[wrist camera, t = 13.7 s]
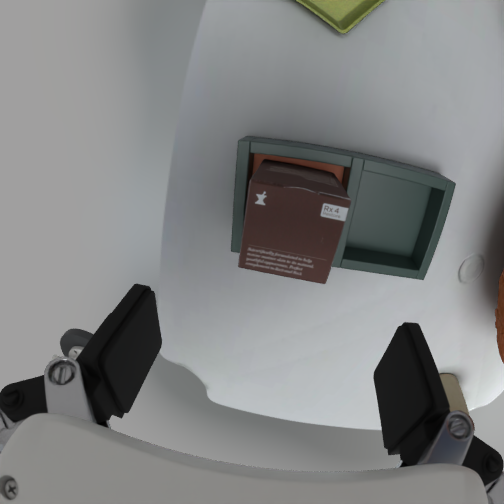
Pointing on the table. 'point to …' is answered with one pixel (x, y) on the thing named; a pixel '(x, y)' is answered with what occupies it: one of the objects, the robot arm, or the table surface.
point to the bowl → (500, 317)
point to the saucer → (341, 11)
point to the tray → (362, 204)
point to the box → (293, 221)
